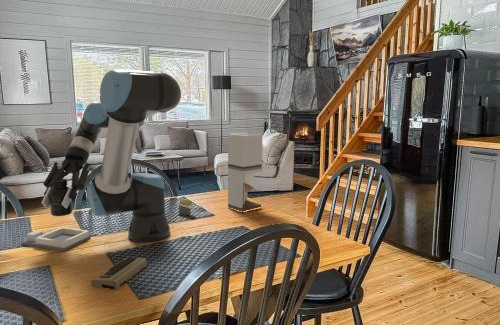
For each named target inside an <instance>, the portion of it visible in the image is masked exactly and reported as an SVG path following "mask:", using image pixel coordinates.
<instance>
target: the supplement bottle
mask: <svg viewBox="0 0 500 325" xmlns="http://www.w3.org/2000/svg"><path fill="white" fill-rule="evenodd" d="M52 186H53V188H51V189H50V191H49V196H50V203H49V206H50V208H49V209H50V215H51V216H53V217H64V216H69V215H71V214H72V213H73V200H72V199H71V201H70V203H69V206H68V208H65V207H64V206H63V205H62V202H63V200H64V197H65V195H66V193H67V191H68V188H70V187H69V186H68V179H66V178H63V179H56V180H52Z"/></svg>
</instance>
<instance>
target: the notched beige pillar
mask: <svg viewBox="0 0 500 325" xmlns="http://www.w3.org/2000/svg"><path fill="white" fill-rule="evenodd" d="M227 136H228V137H227V141H228V142H227V144H228V145H227V150H228V151H227V156H228V157H227V208H228V207H229V208H233V209H236V210H239V211H242V212H243V211H246V210H250V209H254V208H258V207H261V208H262V204H261V203H257V202H255V201H252V200H248V192H250V191H252V190H254V187H255V186H254V185H255V173H261V172H262V171H263V170H262V169H263V133H261V134H259V133H258V134H249V132H237V133H235V132H234V133H228V134H227ZM229 208H228V209H229Z"/></svg>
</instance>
